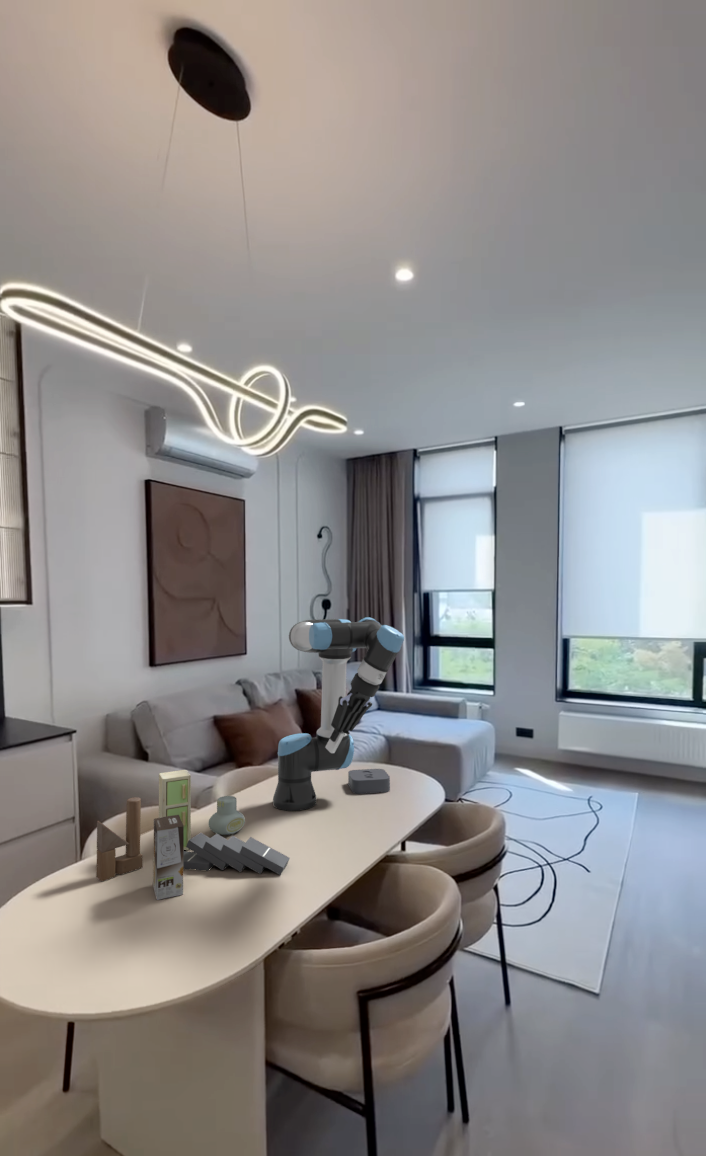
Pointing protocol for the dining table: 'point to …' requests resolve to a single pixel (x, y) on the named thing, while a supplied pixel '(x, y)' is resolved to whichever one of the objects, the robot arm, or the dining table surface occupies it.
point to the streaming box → (368, 781)
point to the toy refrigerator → (176, 798)
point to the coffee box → (168, 856)
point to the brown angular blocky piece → (120, 845)
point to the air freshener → (226, 817)
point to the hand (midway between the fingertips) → (329, 750)
